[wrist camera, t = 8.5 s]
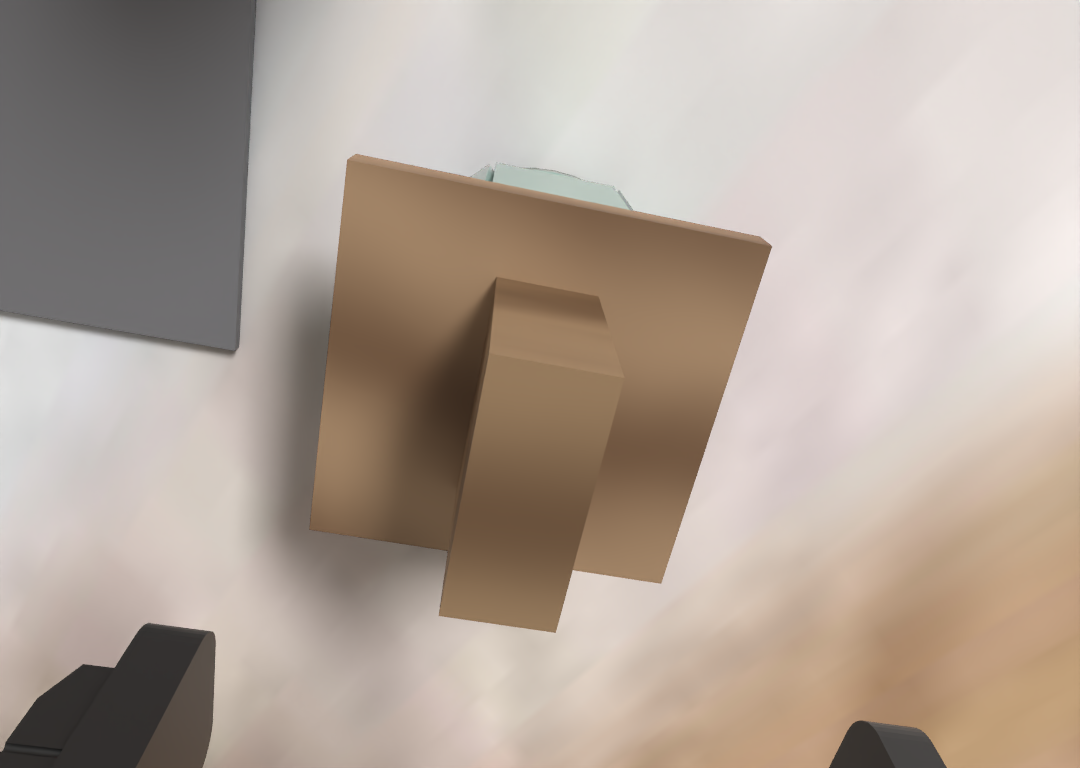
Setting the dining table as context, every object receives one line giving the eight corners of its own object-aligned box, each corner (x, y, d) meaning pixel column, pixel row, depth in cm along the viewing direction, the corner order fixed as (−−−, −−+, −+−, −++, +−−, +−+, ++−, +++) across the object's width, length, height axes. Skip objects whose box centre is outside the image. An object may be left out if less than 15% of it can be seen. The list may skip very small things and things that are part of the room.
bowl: (405, 140, 23) (376, 163, 18) (697, 199, 24) (739, 236, 19) (371, 410, 26) (340, 486, 22) (626, 452, 27) (648, 534, 23)
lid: (356, 153, 18) (284, 200, 13) (759, 236, 19) (857, 313, 14) (317, 509, 22) (250, 663, 16) (655, 562, 23) (698, 724, 17)
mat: (-227, -176, 19) (-241, -181, 19) (259, -66, 21) (254, -68, 20) (-153, 278, 24) (-164, 282, 24) (239, 346, 25) (234, 350, 25)
